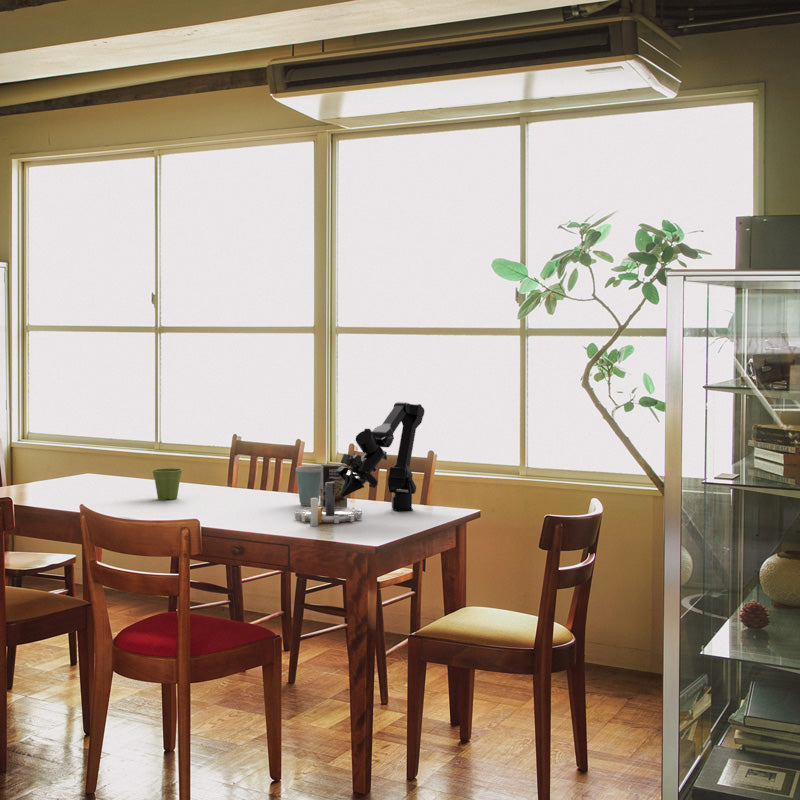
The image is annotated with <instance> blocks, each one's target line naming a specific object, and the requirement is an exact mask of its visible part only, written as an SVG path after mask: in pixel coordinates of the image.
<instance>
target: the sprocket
mask: <svg viewBox="0 0 800 800" xmlns="http://www.w3.org/2000/svg"><path fill="white" fill-rule="evenodd" d="M294 519H295V520H301V522H304V523H305V522H311V507H310V506H305V507H303V509H295V512H294ZM361 519H363V510H362V509H356V508H355V507H351V506H350V507H347V508H346V507H340V506H335V482H326V507H324V506H320V505H318V524H322V523H333V524H339V523H342V522H344V523H345V522H355V520H361Z"/></svg>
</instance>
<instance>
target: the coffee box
mask: <svg viewBox="0 0 800 800" xmlns="http://www.w3.org/2000/svg"><path fill="white" fill-rule="evenodd" d="M320 465H321V490H320V496H319V502H320V503H319V504H320V505H319V506H324V507H326V482H335V506H340V507H346V508H348V495H346V496H344V497H342V496H341V495H340V494H341V491H342V489H343V486H344V483H345V480H344V479H343V478H342V477H341V476H340V475H339V474H338V473H337V472H336V470H337V469H338V468H339V467H341V466H343V467H348V468H349V466H348V465H346V464H342V463H341V464H340V463H339V464H337V463H335V464H320Z"/></svg>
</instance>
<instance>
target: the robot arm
mask: <svg viewBox="0 0 800 800" xmlns="http://www.w3.org/2000/svg"><path fill="white" fill-rule="evenodd" d="M424 415H425V407H423V406H422V404H420V403H408V402H403V401H402V402H401V401H397V402H395V403H394V404H393V408H392V409H391V411H390V412H389V414H388V415H387V416H386V418H385V420H384V421H383V422H382V424H380V425H378V426H376V427H375V428H374V429H373V430H371V428H364V429H363V430H362V431H360V432H359V433H358V434H357V435H356V436H355V443H356V444H357V446H358V447H359V449H360V450H361V452H362V453H364V454H363V455H362V456H361V455H359V454H354V455H350V454H347V453H344V454H343V455H342V458H341V461H340V463H341V464H344V465H347V466H348V467H343V466H341V467H339V468H338V469H337V470H336V472H337V473H338V474H339V475H340V476H341V477H342V478H343V479H344V480H345V483H344V486H343V489H342V491H341V494H340V495H341V496H342V497H344V496H346V495H347V496H348V495H350V494H352V493H355V492H356V491H359V490H361V489H364V488H365V484H366V483H368V484H369V485H368V486H369V488H371V489H375V488H376V487H377V486H378V485H379V484H378V479H377V478H376V477H375V476H374V475H373V473H372V472H376V471H377V468H376V467H377V466H378V464H379V463H380V462H381V461H382V460H384V461H387V460H388V456H387V451H386V450H384V449H383V448H390V447H391V446H392V444H393V441H394V440H395V439H394V438H395V437H394V433H395V431H396V430H397V429H398V427H399V425H400V423H402V430H401V435H400V441H399V447H398V453H397V458H396V463H395V464H394V466H390V468H389V474H388V476H387V486H388V487H387V488H388V492H389V493H392V496H391V509H392V510H394V511H396V512H399V511H401V512H403V511H404V512H405V511H414V508H413V507H412V506H413V505H412V504H413V497H412V495H413V494H416V491H417V486H416V484H415V482H414V479H413V473H412V470H411V467H410V466H411V460H412V453H413V450H414V449H413V448H414V443H415V436H416V430H417V428H418V427H419V426H420V425H421V424H422V422H423V419H424Z"/></svg>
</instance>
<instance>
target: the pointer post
mask: <svg viewBox="0 0 800 800" xmlns="http://www.w3.org/2000/svg"><path fill="white" fill-rule="evenodd" d="M318 507H319V502H318V498H311V506H310V508H311V521H310V527H318V526H319V523H318Z"/></svg>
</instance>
